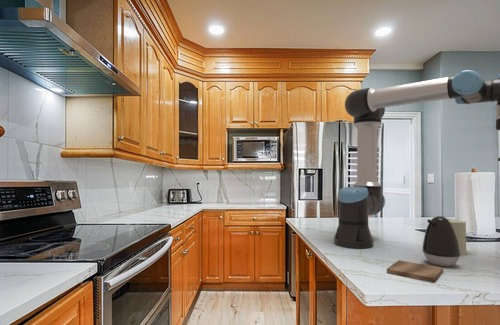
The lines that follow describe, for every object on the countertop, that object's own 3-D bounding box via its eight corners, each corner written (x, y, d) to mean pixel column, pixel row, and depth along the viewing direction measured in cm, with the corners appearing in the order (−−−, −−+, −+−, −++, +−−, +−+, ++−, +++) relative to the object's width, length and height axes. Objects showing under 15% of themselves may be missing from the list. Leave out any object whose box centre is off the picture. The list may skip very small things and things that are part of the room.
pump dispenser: (415, 261, 98) (414, 215, 99) (437, 258, 102) (436, 213, 103) (444, 270, 89) (443, 219, 90) (468, 267, 93) (467, 217, 93)
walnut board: (386, 272, 86) (386, 268, 87) (399, 263, 95) (399, 260, 96) (434, 282, 79) (434, 278, 79) (443, 272, 87) (443, 267, 88)
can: (457, 249, 115) (456, 217, 116) (472, 255, 106) (471, 221, 107) (432, 248, 116) (431, 217, 117) (445, 254, 107) (444, 221, 108)
